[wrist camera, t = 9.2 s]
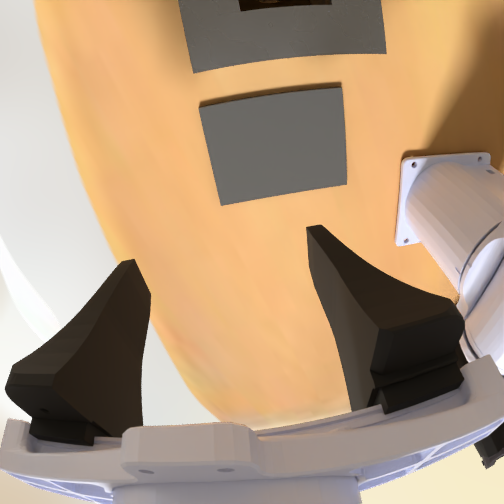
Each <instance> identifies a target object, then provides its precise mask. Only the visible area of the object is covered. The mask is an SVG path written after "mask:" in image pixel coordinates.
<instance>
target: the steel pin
mask: <svg viewBox="0 0 504 504" xmlns="http://www.w3.org/2000/svg"><path fill="white" fill-rule="evenodd" d="M258 1H260V2H264V3H276V2H280V1H282V0H258Z"/></svg>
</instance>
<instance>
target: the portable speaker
mask: <svg viewBox="0 0 504 504" xmlns="http://www.w3.org/2000/svg"><path fill="white" fill-rule="evenodd" d="M460 314H461V313H460ZM461 316H462V315H461ZM462 317H463V316H462ZM455 352H456V354H457V356H458V361H457V362H456V363H457V365H458V367H459V369H461V368H462V367H463V366H464V365H466V364H468V363H469V362H468V361H467V359H466V357H465V355H464V353H463V351H462V348H461V345H460V342H459V343H458V345H457V347H456V349H455ZM474 446H475V447H476V449H477V451H478V453H479V454H480V456H481V457H482V458H483V461H482V463H483V465H485V468H486V469H487V468H489V467H491V466H493V465H494V464H495V462H496V460H498V459H499V458H501V457H503V456H504V422H503V423H502V424H501V425H500V426H499V427H497V428H496V429H495V430H494V431H493V432H492V433H491V434H489V435H488V436H487V437H485V438H483V439H481V440H480V441H478V442H476V443H474Z"/></svg>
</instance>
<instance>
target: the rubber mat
mask: <svg viewBox="0 0 504 504" xmlns="http://www.w3.org/2000/svg"><path fill="white" fill-rule="evenodd" d="M199 113H200V117H201V121H202V126H203V130H204V135H205V139H206V143H207V148H208V152H209V156H210V161H211V165H212V169H213V174H214V178H215V182H216V186H217V191H218V195H219V199H220V203H221V206H223V205H228V204H234V203H239V202H244V201H250V200H255V199H261V198H266V197H272V196H278V195H284V194H290V193H296V192H302V191H308V190H314V189H321V188H327V187H334V186H340V185H347V166H346V140H345V122H344V107H343V94H342V88H341V87H332V88H320V89H310V90H300V91H292V92H284V93H276V94H269V95H262V96H256V97H250V98H244V99H238V100H232V101H227V102H222V103H217V104H212V105H207V106H202V107H199Z"/></svg>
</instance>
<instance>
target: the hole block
mask: <svg viewBox="0 0 504 504" xmlns="http://www.w3.org/2000/svg"><path fill="white" fill-rule="evenodd" d="M178 2H179V7H180V12H181V17H182V22H183V26H184V31H185V36H186V41H187V46H188V50H189V55H190V60H191V64H192V69H193V74H194V73H198V72H203V71H208V70H213V69H218V68H223V67H228V66H234V65H240V64H246V63H252V62H259V61H266V60H274V59H283V58H292V57H303V56H316V55H334V54H387V53H386V42H385V32H384V23H383V14H382V7H381V0H310V5H305V6H288V7H276V8H266V9H257V10H249V11H242V12H241V11H240V6H239V1H238V0H178Z"/></svg>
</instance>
